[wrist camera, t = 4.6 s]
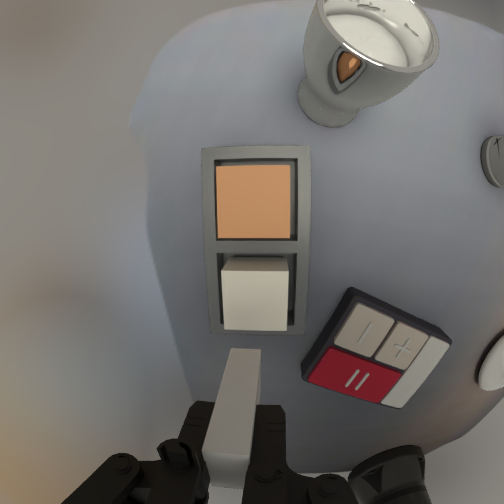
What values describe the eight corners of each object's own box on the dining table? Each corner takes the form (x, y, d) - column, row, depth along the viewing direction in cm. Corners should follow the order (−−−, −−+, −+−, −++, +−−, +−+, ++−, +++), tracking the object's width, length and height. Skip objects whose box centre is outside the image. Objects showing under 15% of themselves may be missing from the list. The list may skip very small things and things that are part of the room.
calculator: (356, 297, 24) (456, 344, 23) (347, 282, 28) (441, 328, 27) (300, 384, 26) (402, 414, 26) (299, 361, 30) (393, 393, 30)
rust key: (287, 229, 23) (289, 238, 19) (227, 229, 23) (218, 238, 19) (286, 168, 22) (289, 165, 18) (225, 169, 22) (216, 166, 18)
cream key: (284, 309, 25) (286, 330, 21) (231, 308, 26) (224, 329, 22) (286, 257, 24) (288, 271, 20) (229, 257, 25) (221, 270, 21)
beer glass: (286, 71, 22) (295, -29, 8) (353, 66, 21) (412, -18, 7) (301, 136, 24) (336, 76, 9) (370, 128, 23) (460, 82, 8)
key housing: (300, 315, 28) (304, 335, 24) (218, 314, 29) (210, 332, 25) (304, 152, 24) (310, 146, 20) (212, 153, 25) (201, 148, 21)
